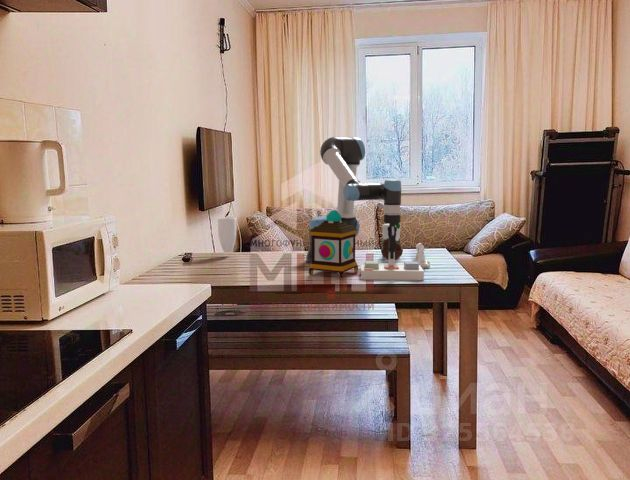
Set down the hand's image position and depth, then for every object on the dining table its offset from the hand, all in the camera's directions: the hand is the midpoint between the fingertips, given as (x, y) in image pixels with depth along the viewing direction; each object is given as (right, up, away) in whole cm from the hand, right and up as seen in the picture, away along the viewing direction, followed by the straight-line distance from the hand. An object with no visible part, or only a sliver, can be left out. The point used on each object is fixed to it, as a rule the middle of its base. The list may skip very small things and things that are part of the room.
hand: (391, 265), depth 259 cm
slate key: (+9, -3, 0) cm, 10 cm away
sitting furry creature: (+18, -2, +24) cm, 31 cm away
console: (0, -5, +1) cm, 5 cm away
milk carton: (+7, +2, +53) cm, 53 cm away
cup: (-83, +2, +56) cm, 100 cm away
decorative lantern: (-26, -4, +7) cm, 28 cm away
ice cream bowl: (+3, -3, +20) cm, 20 cm away
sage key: (-9, -3, +1) cm, 9 cm away
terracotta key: (0, -5, +1) cm, 5 cm away
